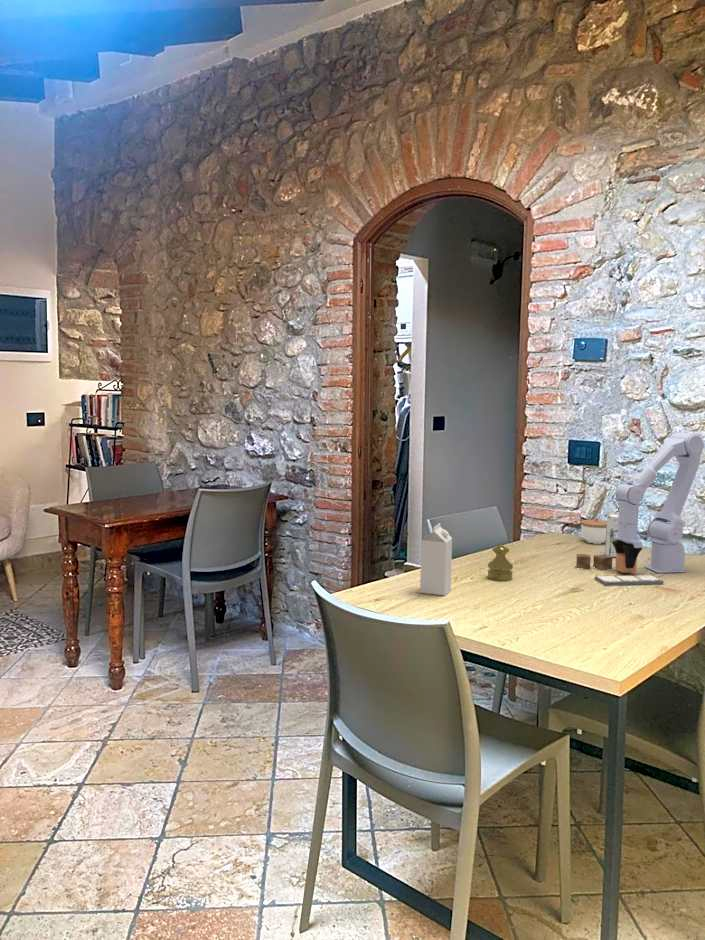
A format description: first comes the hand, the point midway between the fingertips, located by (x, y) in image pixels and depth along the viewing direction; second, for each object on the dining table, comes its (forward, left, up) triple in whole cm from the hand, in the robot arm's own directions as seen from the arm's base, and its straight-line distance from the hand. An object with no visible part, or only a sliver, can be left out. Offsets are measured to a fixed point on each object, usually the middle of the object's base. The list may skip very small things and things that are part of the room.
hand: (625, 565), depth 238 cm
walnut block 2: (+4, -7, -3) cm, 8 cm away
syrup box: (-8, -23, -3) cm, 24 cm away
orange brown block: (0, 0, -1) cm, 1 cm away
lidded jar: (-11, -45, -3) cm, 46 cm away
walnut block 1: (+10, -8, -3) cm, 13 cm away
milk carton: (+64, +15, -3) cm, 66 cm away
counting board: (+4, +10, -2) cm, 11 cm away
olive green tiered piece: (+41, +2, -3) cm, 41 cm away
